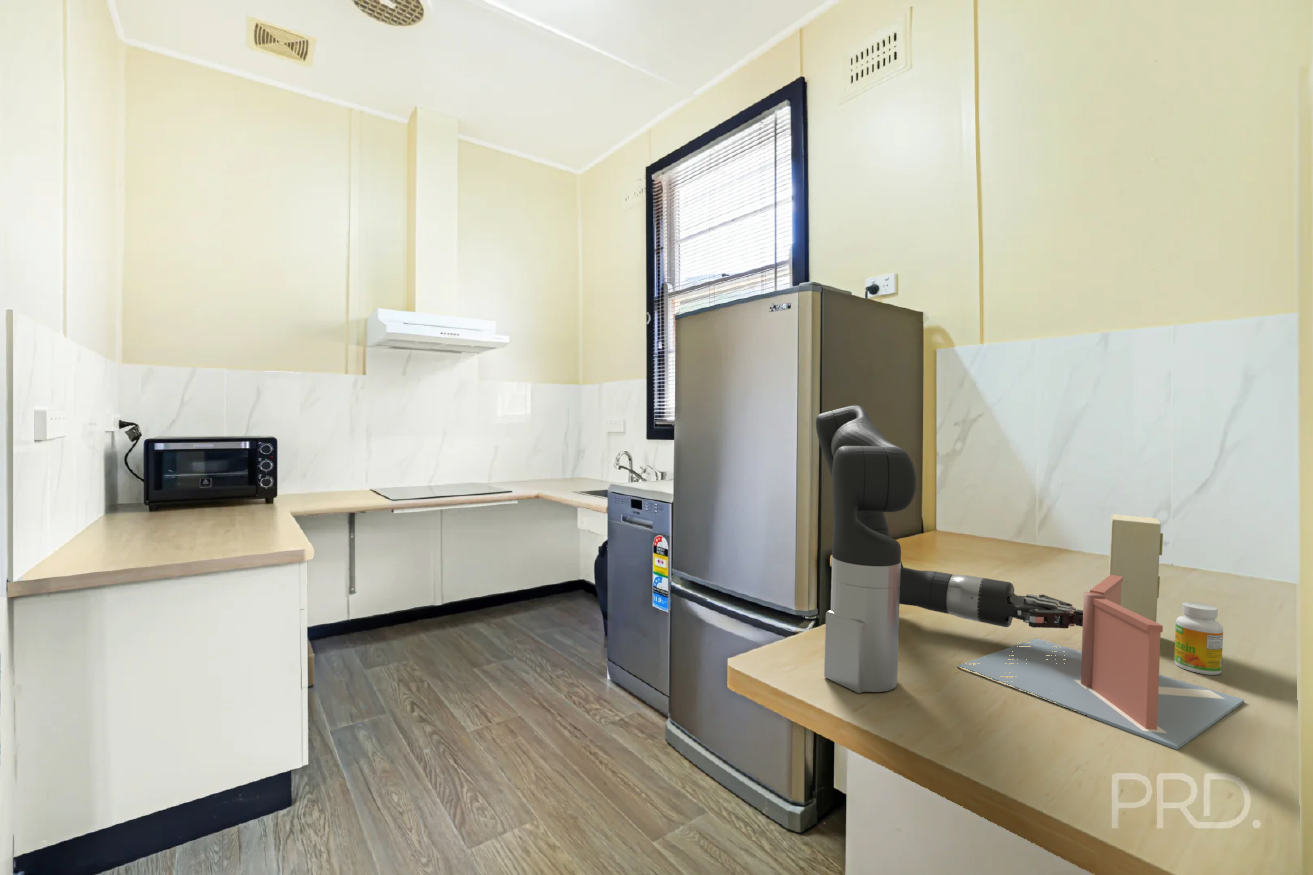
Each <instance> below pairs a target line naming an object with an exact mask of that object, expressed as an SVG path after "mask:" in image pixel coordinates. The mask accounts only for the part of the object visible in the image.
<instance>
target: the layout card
mask: <svg viewBox="0 0 1313 875" xmlns="http://www.w3.org/2000/svg"><path fill="white" fill-rule="evenodd" d="M1027 642H1031V643H1025V642H1022V643H1019V644H1016V645H1013V646H1010V647H1007V648H1004V649H1002V650H999V651H995V652H993V653H990V654H986V655H984V656H981V657H979V658H975V659H976V660H975V659H972V660H968V661H967V662H963V663H961V664H958V665H957V667H958V666H959V667H962V668H966V669H968V670H970V671H972V672H977V673H979V674H981V675H984V676H987V677H989V678H992V679H993V680H996V681H1001V682H1003V681H1004V682H1003V683H1006V684H1008V685H1012V686H1014V687H1015V688H1017V689H1021V690H1023V691H1026V692H1029V693H1033V694H1035V695H1037V696H1039V697H1041V698H1045V699H1047V700H1050V701H1052V702H1056V703H1057V704H1059V705H1061V706H1065V707H1067V708H1069V709H1071V710H1070V711H1072V710H1076V711H1077V712H1079V713H1078V714H1080V713H1081V714H1080V715H1082V714H1083V715H1082V716H1085V715H1087V716H1086V717H1089V718H1091V719H1094V720H1096V721H1099V722H1101V723H1104V724H1106V725H1110V726H1112V727H1115V728H1118V729H1120V730H1123V731H1126V732H1128V733H1131V734H1133V735H1136V736H1139V737H1141V738H1145V739H1147V740H1150V741H1152V742H1155V743H1156V744H1157V743H1158V744H1160V745H1164V746H1165V747H1169V748H1171V749H1174V750H1176V751H1177V750H1180V749H1181V748H1182V747H1184V746H1185V745H1186V744H1188V743H1189V742H1190V741H1192V740H1193V739H1195V738H1196V737H1198V736H1199V735H1201V734H1202V733H1203V732H1205V731H1206V730H1207V729H1208V728H1210V727H1212V726H1213V725H1214V724H1215V723H1217V722H1219V721H1220V720H1221V719H1223V718H1224V717H1226V716H1228V714H1230V713H1231V712H1233V711H1234V710H1235V709H1237V708H1239V707H1240V706H1241V705H1243V704H1244V703H1245V699H1244V698H1240V697H1237V696H1234V695H1230V694H1227V693H1224V692H1220V691H1217V690H1215V689H1214V690H1213V689H1211V688H1207V687H1203V686H1200V685H1197V684H1194V683H1190V682H1186V681H1183V680H1179V679H1176V678H1173V677H1169V676H1166V675H1163V674H1160V673H1159V689H1158V715H1157V730H1154V729H1145V728H1144V727H1143V726H1141V725H1140V724H1139V723H1137V722H1136V721H1135V720H1133V719H1132V718H1131V717H1129V716H1128V715H1127V714H1125V713H1124V712H1123V711H1121V710H1120V709H1119V708H1117V707H1116V706H1114V705H1113V704H1112V703H1110V702H1109V701H1108V700H1106V699H1105V698H1104V697H1102V696H1101V695H1100V694H1098V693H1097V692H1096V691H1094V690H1093V689H1092V688H1089V687H1086V686H1084V685H1082V684H1081V660H1082V650H1078V649H1074V648H1071V647H1068V646H1065V647H1064V645H1061V644H1057V643H1054V642H1051V641H1046V640H1044V639H1041V638H1034V639H1031V640H1028V641H1027ZM1047 642H1048V643H1047ZM1017 646H1018V647H1017ZM1019 646H1031V647H1019ZM1052 646H1053V647H1052ZM1054 646H1057V648H1056V647H1054ZM1059 646H1061V648H1060V647H1059ZM1012 651H1013V652H1012ZM1052 651H1053V652H1052ZM1054 651H1057V652H1054ZM1063 651H1065V652H1063ZM1009 655H1010V656H1009ZM1011 655H1014V656H1011ZM1046 655H1050V656H1046ZM1051 655H1052V656H1051ZM1055 655H1056V656H1055ZM1064 655H1065V656H1064ZM1008 659H1011V660H1008ZM1012 659H1014V660H1012ZM1017 659H1018V660H1017ZM1026 659H1027V660H1026ZM1046 659H1048V660H1046ZM1055 659H1056V660H1055ZM1063 659H1066V660H1063ZM965 663H967V664H965ZM969 663H971V665H969ZM972 663H976V665H974V666H973V664H972ZM977 663H980V664H977ZM1005 663H1007V664H1005ZM1009 663H1014V664H1010V665H1009ZM1017 663H1018V664H1017ZM1026 663H1027V664H1026ZM1056 663H1057V664H1056ZM1064 663H1065V664H1064ZM1005 672H1006V673H1005ZM1009 672H1011V673H1009ZM1000 676H1014V677H1013V678H1009V677H1008V678H1006V677H1000ZM1015 676H1017V677H1015ZM1005 681H1006V682H1005ZM1007 681H1008V682H1007ZM1011 681H1013V682H1011ZM1052 693H1053V694H1052ZM1243 702H1244V703H1243ZM1061 706H1060V707H1061ZM1069 709H1068V710H1069ZM1232 710H1233V711H1232ZM1077 712H1076V713H1077ZM1225 715H1226V716H1225Z"/></svg>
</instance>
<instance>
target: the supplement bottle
mask: <svg viewBox="0 0 1313 875" xmlns="http://www.w3.org/2000/svg"><path fill="white" fill-rule="evenodd" d="M1181 609H1182V610H1181V612H1182V613H1183V615H1180V616H1178V617H1177V618H1176V620H1175V636H1174V658H1173V659H1174V660H1173V661H1174V664H1175V665H1176V666H1177V667H1179V668H1180V669H1183V670H1186V671H1189V672H1193V673H1196V674H1202V675H1206V676H1207V675H1208V676H1215V675H1220V674H1221V673H1222V668H1223V667H1222V666H1223V642H1224V627H1223V625H1222V624H1221V623H1220V622H1219V621H1216V619H1217V618H1218V608H1217V607H1216V606H1214V605H1210V604H1206V603H1202V602H1194V601H1193V602H1192V601H1183V603H1182V606H1181Z"/></svg>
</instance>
